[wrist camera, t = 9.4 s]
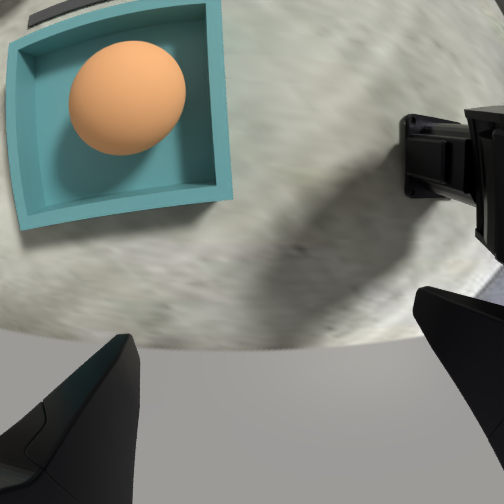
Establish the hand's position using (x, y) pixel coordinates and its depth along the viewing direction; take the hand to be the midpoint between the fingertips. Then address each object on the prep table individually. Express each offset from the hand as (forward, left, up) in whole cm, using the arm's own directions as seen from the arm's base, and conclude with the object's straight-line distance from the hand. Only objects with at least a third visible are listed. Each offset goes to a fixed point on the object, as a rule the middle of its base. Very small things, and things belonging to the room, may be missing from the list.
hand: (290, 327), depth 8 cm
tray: (+7, -8, -12) cm, 16 cm away
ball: (+5, -8, -8) cm, 13 cm away
